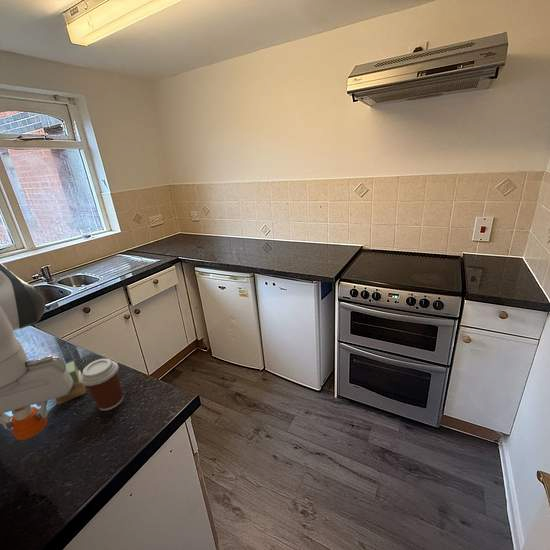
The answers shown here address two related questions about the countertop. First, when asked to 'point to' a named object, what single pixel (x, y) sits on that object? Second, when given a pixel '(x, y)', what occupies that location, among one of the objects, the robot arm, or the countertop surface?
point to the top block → (73, 371)
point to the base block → (73, 391)
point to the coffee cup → (103, 383)
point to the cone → (26, 423)
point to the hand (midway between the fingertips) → (27, 421)
